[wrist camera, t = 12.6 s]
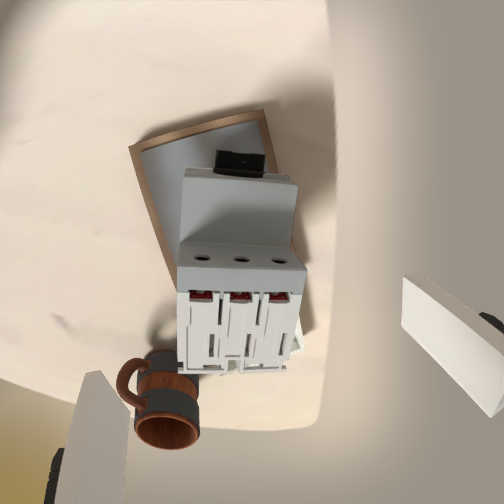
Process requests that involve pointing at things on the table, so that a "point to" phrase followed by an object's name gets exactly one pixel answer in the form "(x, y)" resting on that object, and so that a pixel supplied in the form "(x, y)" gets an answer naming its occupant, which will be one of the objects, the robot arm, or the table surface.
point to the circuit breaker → (237, 267)
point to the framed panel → (192, 155)
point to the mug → (162, 400)
